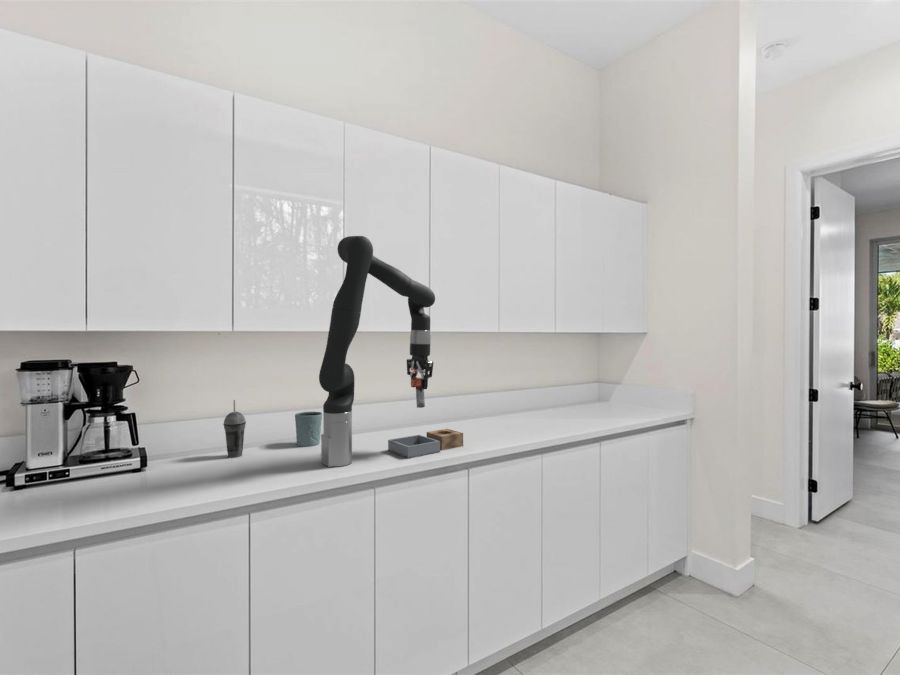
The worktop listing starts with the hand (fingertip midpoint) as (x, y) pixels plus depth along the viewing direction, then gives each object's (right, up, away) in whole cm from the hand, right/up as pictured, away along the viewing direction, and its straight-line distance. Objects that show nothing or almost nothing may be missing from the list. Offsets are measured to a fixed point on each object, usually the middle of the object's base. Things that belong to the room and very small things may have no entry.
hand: (418, 388), depth 172 cm
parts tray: (-2, -23, -2) cm, 23 cm away
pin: (+1, -7, 0) cm, 7 cm away
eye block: (+9, -23, +6) cm, 25 cm away
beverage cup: (-64, -23, -7) cm, 69 cm away
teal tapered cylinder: (-44, -23, +10) cm, 50 cm away
